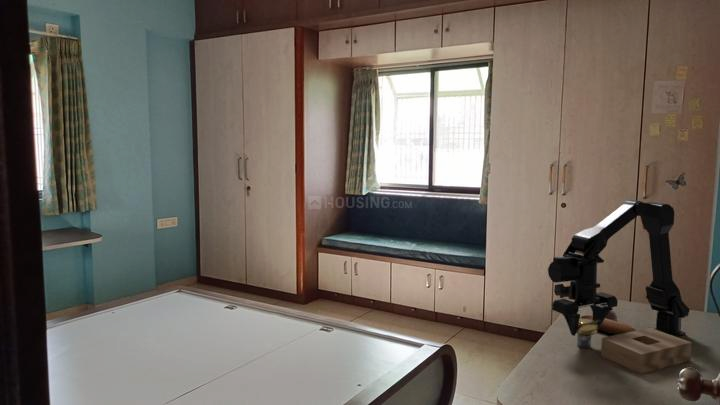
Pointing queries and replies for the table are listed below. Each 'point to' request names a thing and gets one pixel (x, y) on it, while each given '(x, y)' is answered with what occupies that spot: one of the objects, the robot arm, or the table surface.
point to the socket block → (646, 350)
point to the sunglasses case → (612, 326)
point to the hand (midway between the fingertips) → (584, 332)
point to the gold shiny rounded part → (585, 332)
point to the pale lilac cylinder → (611, 316)
